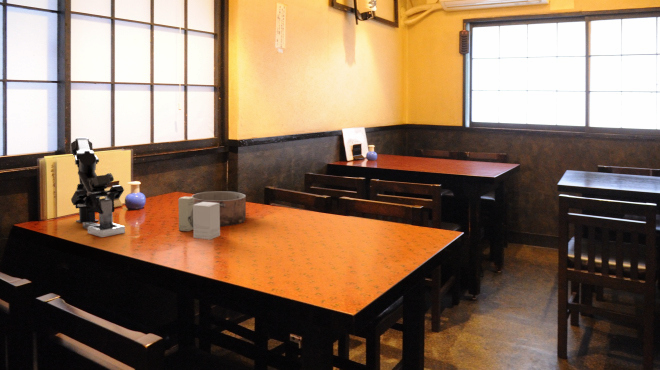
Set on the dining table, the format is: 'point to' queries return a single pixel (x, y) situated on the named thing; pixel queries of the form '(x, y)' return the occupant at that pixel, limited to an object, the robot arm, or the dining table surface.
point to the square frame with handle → (95, 229)
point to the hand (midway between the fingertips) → (107, 212)
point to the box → (186, 213)
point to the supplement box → (206, 220)
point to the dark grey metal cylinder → (106, 213)
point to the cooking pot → (226, 205)
